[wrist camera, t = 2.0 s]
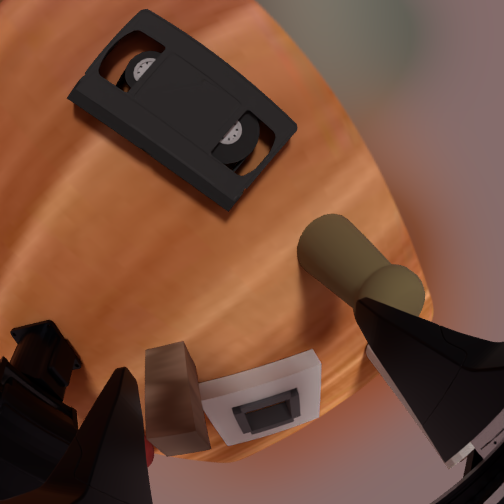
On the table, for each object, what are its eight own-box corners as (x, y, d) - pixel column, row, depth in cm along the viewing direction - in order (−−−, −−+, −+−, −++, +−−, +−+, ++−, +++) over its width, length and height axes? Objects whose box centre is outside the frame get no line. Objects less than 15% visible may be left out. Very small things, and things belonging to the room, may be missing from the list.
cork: (356, 261, 27) (429, 329, 17) (302, 283, 26) (364, 367, 16) (352, 205, 24) (443, 262, 14) (291, 226, 23) (369, 302, 13)
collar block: (224, 432, 35) (228, 448, 33) (195, 384, 29) (198, 405, 26) (312, 405, 37) (320, 419, 35) (312, 348, 31) (323, 366, 28)
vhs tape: (289, 126, 20) (300, 127, 18) (223, 203, 21) (228, 211, 20) (146, 16, 13) (143, 6, 11) (76, 100, 15) (66, 98, 13)
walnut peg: (160, 374, 27) (167, 456, 18) (145, 349, 25) (146, 438, 16) (195, 366, 27) (211, 449, 19) (183, 340, 25) (195, 430, 17)
